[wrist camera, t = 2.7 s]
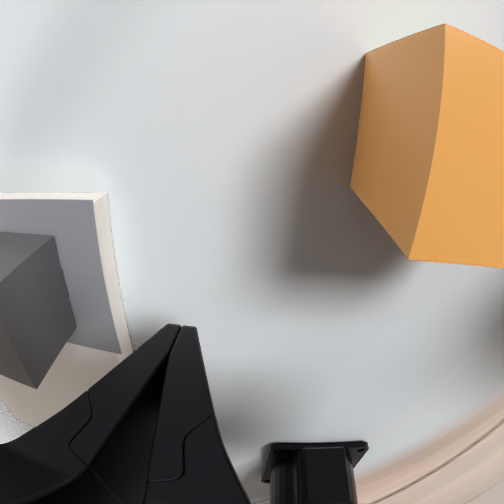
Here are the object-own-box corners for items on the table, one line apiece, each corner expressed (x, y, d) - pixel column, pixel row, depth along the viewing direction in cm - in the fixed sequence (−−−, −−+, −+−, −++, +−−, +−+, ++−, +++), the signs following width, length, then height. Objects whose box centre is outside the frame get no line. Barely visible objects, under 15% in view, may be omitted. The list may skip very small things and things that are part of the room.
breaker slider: (76, 326, 11) (36, 389, 8) (25, 314, 11) (-17, 366, 8) (53, 235, 9) (-10, 291, 6) (0, 231, 9) (-59, 277, 6)
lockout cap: (457, 204, 10) (541, 271, 5) (349, 186, 10) (408, 259, 6) (477, 89, 8) (579, 104, 3) (365, 53, 8) (445, 23, 3)
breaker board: (165, 449, 18) (159, 473, 17) (21, 405, 19) (11, 422, 17) (113, 186, 10) (83, 206, 8) (-67, 192, 10) (-91, 206, 8)
